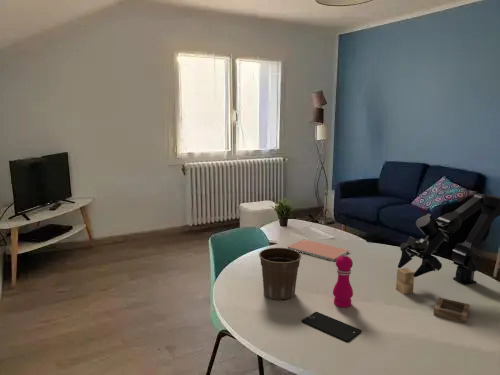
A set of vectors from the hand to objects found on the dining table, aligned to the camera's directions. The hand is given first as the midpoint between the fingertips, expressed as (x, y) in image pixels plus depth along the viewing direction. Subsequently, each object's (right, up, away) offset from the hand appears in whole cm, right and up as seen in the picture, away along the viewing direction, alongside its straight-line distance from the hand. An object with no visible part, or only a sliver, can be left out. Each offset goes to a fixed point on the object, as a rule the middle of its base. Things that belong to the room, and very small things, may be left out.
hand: (406, 271), depth 158 cm
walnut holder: (+10, -11, -16) cm, 22 cm away
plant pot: (-50, -9, -1) cm, 50 cm away
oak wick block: (0, -8, +1) cm, 8 cm away
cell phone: (-35, -14, -25) cm, 45 cm away
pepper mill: (-27, -10, -9) cm, 30 cm away
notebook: (-27, 0, +47) cm, 54 cm away
